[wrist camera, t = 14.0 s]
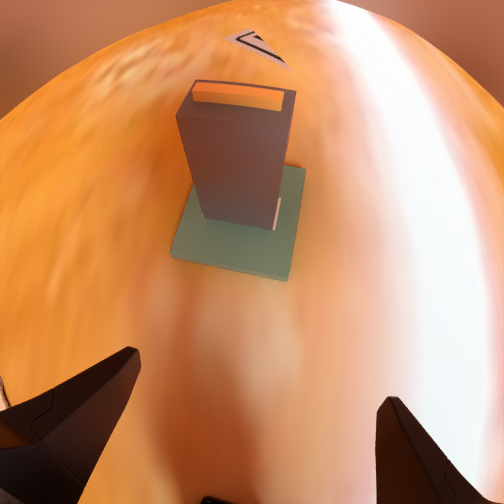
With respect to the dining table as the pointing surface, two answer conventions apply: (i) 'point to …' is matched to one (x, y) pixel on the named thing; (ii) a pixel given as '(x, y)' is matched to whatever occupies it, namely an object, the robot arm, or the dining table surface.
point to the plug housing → (236, 148)
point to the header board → (243, 235)
